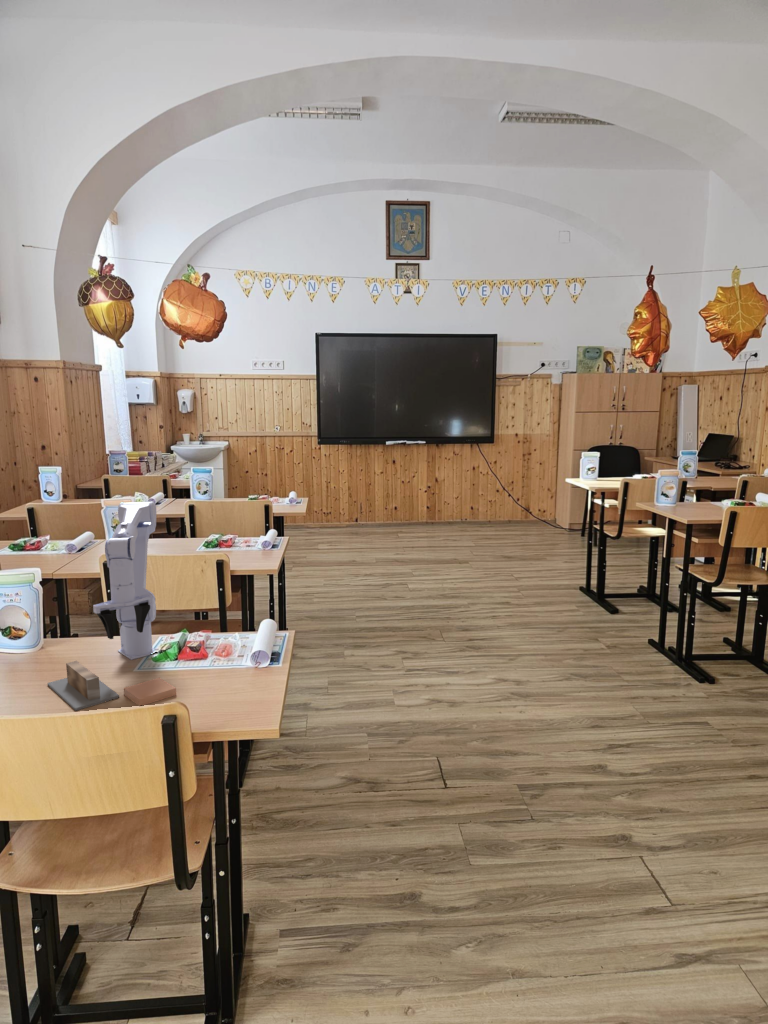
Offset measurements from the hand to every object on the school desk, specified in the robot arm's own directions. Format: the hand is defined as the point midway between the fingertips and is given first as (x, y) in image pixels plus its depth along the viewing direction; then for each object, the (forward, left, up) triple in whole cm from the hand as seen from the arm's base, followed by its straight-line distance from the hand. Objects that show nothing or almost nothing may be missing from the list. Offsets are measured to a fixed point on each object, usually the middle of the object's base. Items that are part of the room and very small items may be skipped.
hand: (125, 634), depth 168 cm
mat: (+3, -13, -10) cm, 17 cm away
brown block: (+4, -13, -10) cm, 16 cm away
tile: (+13, -2, -10) cm, 16 cm away
